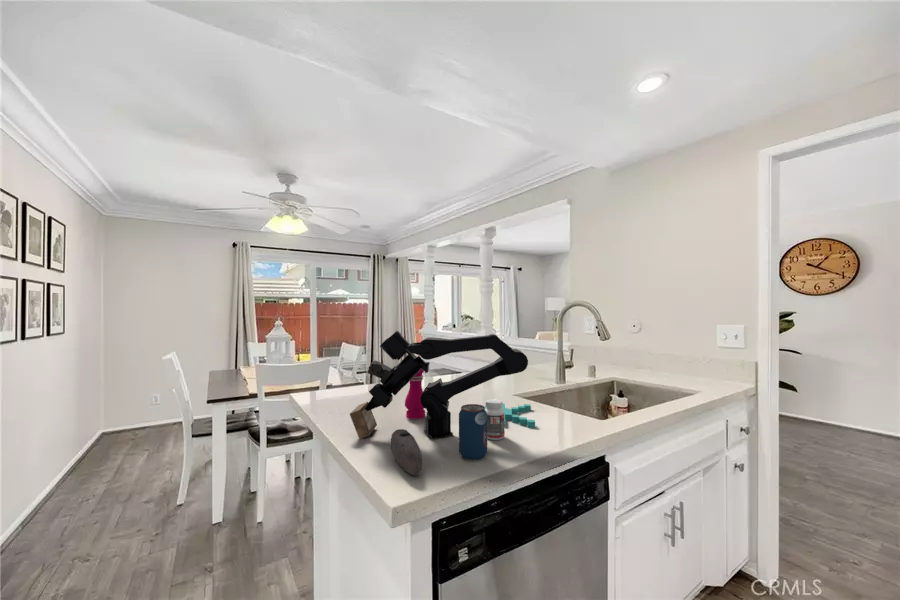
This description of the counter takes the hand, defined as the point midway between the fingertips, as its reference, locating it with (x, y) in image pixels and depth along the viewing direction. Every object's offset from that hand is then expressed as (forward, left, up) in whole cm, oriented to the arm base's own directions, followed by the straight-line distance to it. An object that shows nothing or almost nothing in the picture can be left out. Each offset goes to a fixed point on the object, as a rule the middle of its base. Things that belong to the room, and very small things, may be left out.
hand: (366, 409), depth 110 cm
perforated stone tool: (-3, +27, -7) cm, 28 cm away
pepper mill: (-18, -9, -7) cm, 22 cm away
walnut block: (-1, 0, -6) cm, 6 cm away
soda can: (-20, +28, -7) cm, 35 cm away
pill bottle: (-31, +19, -7) cm, 37 cm away
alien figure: (-43, +4, -8) cm, 44 cm away
